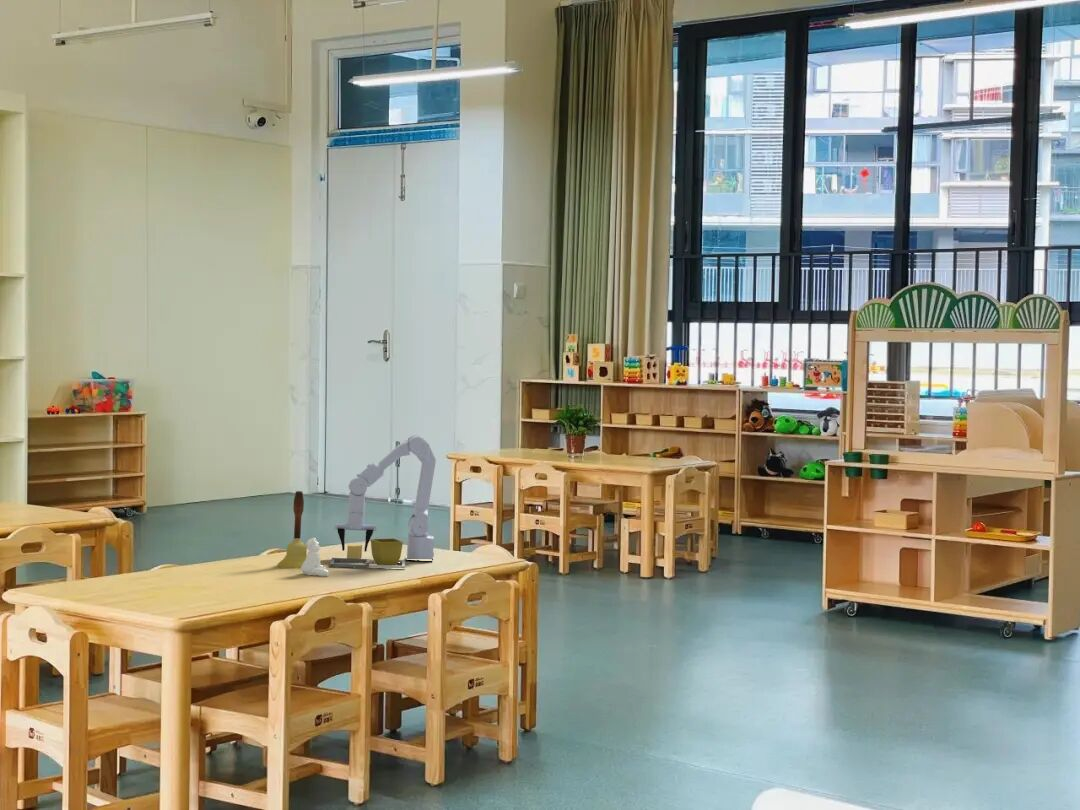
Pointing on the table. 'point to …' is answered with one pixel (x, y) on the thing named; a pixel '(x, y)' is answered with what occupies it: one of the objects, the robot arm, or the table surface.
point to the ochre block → (354, 551)
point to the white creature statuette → (313, 560)
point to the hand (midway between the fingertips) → (354, 550)
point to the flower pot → (386, 551)
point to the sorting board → (362, 564)
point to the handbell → (296, 538)
